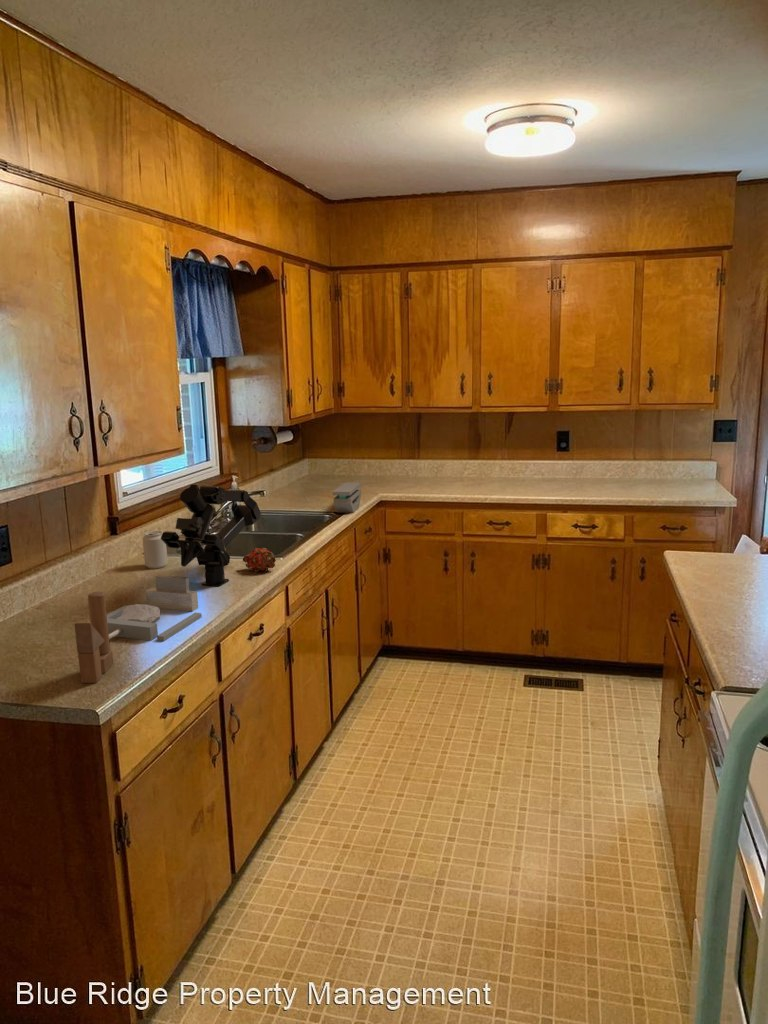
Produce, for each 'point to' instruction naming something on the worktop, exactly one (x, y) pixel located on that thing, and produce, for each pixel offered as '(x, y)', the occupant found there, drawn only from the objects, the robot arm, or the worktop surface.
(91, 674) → the wooden block
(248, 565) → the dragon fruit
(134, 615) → the stone block
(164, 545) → the can
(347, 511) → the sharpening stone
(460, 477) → the worktop surface
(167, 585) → the bar
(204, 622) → the worktop surface
